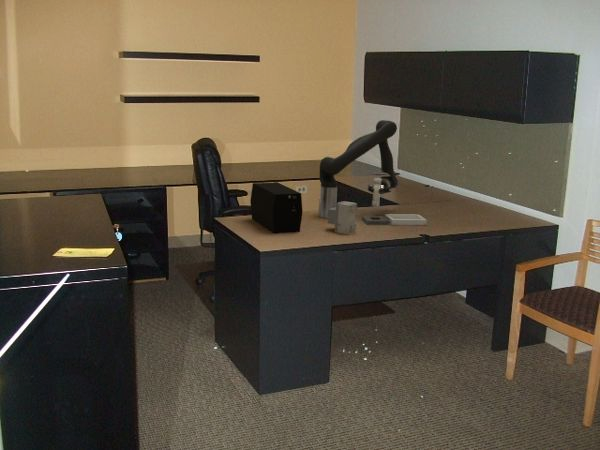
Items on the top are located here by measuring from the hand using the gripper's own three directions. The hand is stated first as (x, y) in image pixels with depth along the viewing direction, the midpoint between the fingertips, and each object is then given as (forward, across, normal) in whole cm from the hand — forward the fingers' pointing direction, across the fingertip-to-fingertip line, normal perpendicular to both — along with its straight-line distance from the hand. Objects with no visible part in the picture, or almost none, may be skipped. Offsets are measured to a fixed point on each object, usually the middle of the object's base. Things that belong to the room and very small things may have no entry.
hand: (375, 191), depth 357 cm
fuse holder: (-3, 0, +18) cm, 18 cm away
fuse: (-3, 0, +8) cm, 9 cm away
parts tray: (-10, +16, +18) cm, 26 cm away
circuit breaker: (+25, -12, +18) cm, 33 cm away
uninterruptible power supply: (+30, -46, +19) cm, 58 cm away
